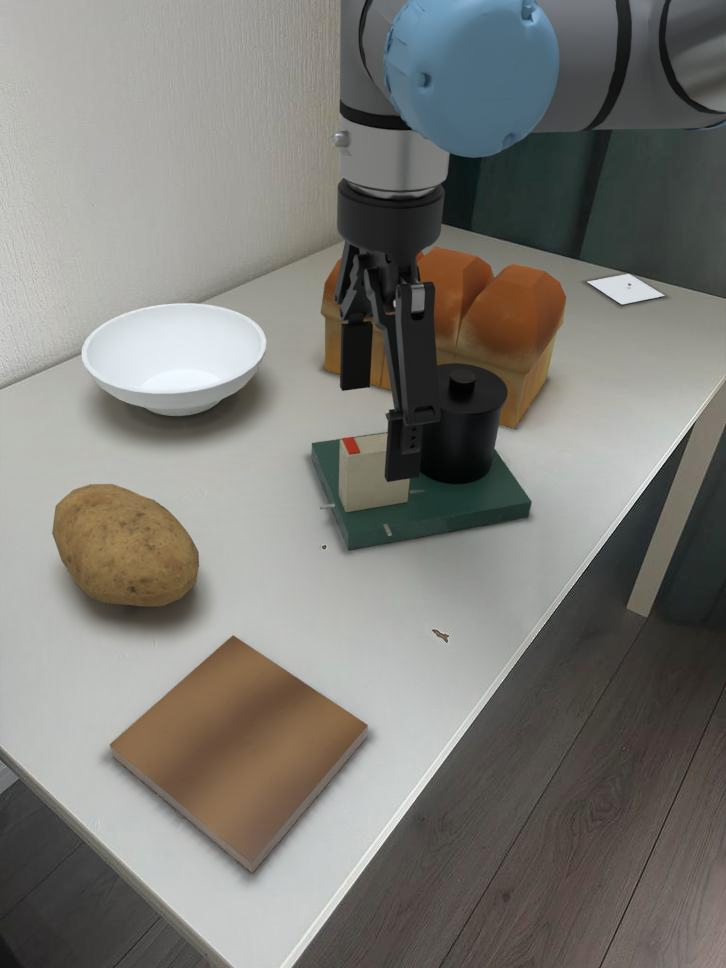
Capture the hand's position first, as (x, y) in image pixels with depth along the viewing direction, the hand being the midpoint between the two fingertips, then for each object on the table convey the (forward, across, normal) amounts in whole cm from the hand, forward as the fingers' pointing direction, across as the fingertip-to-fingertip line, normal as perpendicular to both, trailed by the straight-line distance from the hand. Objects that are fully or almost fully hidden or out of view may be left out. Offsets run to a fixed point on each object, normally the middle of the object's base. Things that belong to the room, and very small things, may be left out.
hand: (376, 429), depth 67 cm
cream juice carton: (+8, 0, 0) cm, 8 cm away
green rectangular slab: (+10, -3, +6) cm, 12 cm away
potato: (+10, +4, -22) cm, 24 cm away
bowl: (+10, -24, -15) cm, 30 cm away
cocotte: (+8, -4, +10) cm, 13 cm away
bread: (+10, -22, +15) cm, 29 cm away
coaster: (+10, -38, +51) cm, 65 cm away
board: (+10, +21, -16) cm, 28 cm away
